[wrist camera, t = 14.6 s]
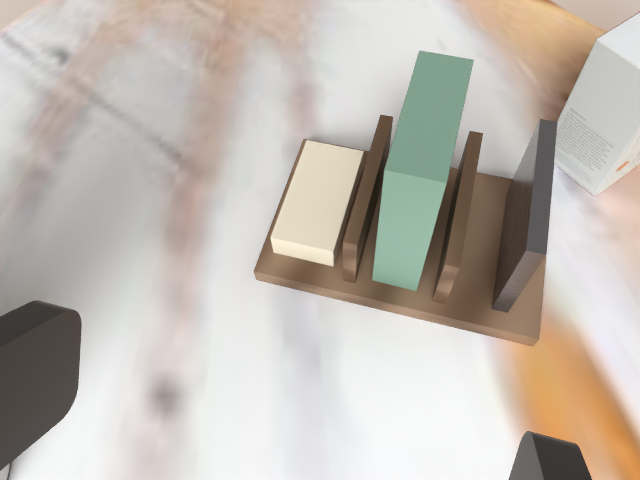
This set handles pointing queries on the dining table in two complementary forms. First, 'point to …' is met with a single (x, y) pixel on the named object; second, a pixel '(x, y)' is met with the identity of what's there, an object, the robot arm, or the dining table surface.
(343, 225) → the toppled book
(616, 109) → the small box
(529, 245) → the bookend
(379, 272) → the book
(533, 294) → the book rack
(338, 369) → the dining table surface
